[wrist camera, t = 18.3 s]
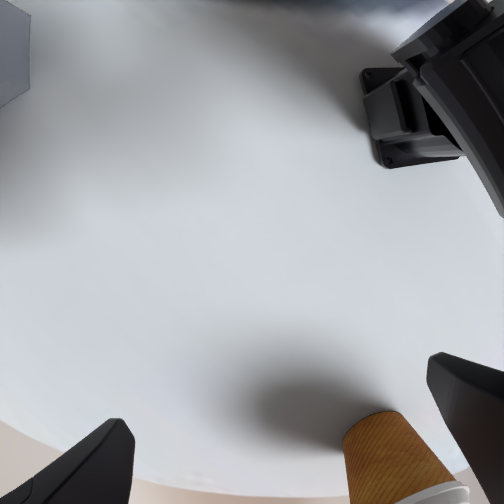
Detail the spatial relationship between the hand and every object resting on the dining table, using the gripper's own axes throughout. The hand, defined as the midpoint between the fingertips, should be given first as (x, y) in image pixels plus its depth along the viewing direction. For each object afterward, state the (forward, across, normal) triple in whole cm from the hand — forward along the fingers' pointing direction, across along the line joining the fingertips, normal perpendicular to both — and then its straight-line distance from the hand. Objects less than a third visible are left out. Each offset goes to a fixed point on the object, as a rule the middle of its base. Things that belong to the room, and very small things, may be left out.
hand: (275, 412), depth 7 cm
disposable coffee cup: (+12, -7, +18) cm, 23 cm away
